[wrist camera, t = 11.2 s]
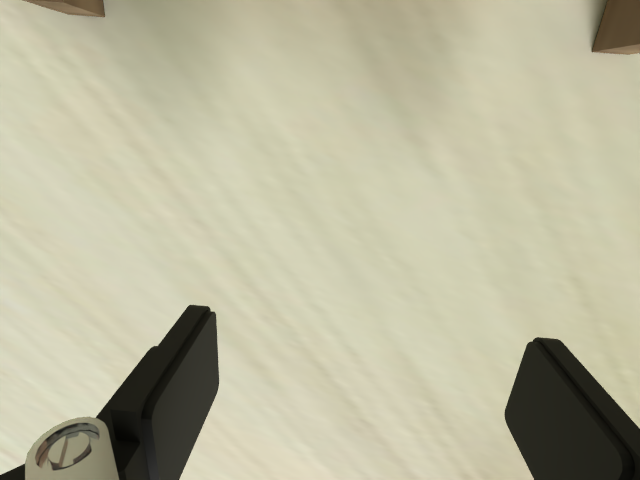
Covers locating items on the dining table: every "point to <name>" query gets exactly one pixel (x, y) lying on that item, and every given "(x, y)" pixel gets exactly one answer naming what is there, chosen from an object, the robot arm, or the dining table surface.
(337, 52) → the dining table surface
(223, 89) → the dining table surface
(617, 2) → the walnut frame
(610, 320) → the dining table surface
